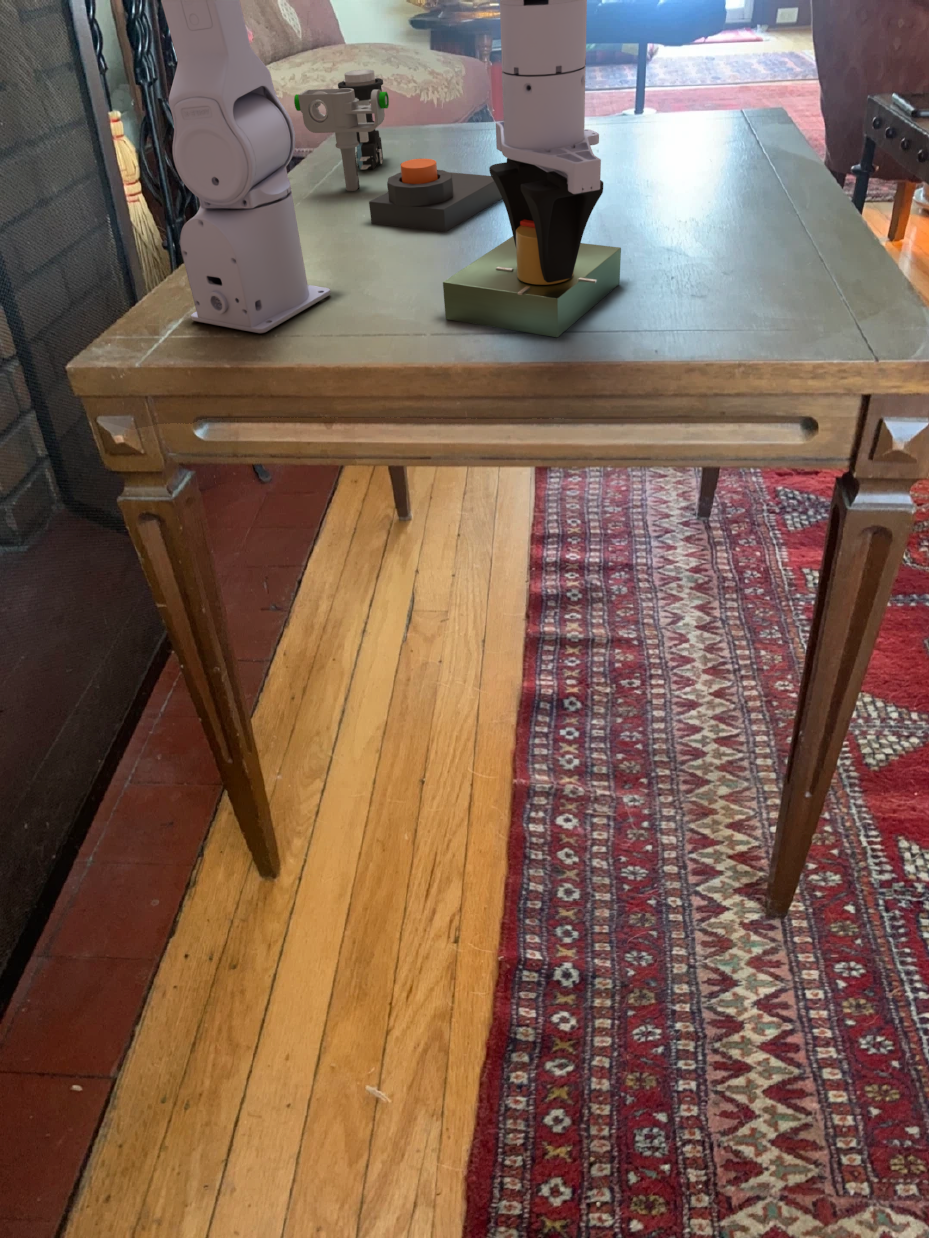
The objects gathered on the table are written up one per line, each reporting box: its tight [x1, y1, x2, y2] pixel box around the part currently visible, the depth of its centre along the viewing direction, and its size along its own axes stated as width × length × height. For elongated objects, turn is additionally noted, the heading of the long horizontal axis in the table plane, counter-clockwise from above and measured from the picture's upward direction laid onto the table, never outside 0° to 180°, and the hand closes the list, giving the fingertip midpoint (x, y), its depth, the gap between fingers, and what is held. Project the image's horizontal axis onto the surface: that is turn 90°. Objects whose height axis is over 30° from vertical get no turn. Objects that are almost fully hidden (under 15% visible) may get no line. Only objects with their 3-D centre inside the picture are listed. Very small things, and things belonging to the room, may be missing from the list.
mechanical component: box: [293, 88, 390, 192], centre depth 102 cm, size 3×10×10 cm, turn 79°
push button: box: [337, 68, 384, 171], centre depth 110 cm, size 7×5×10 cm
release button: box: [400, 158, 438, 184], centre depth 92 cm, size 4×4×2 cm
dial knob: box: [516, 219, 574, 285], centre depth 71 cm, size 4×4×4 cm
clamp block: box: [442, 235, 622, 338], centre depth 75 cm, size 12×11×3 cm
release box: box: [368, 169, 503, 233], centre depth 96 cm, size 12×9×4 cm
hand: (545, 269), depth 72 cm, fingers closed on dial knob, 4 cm apart
